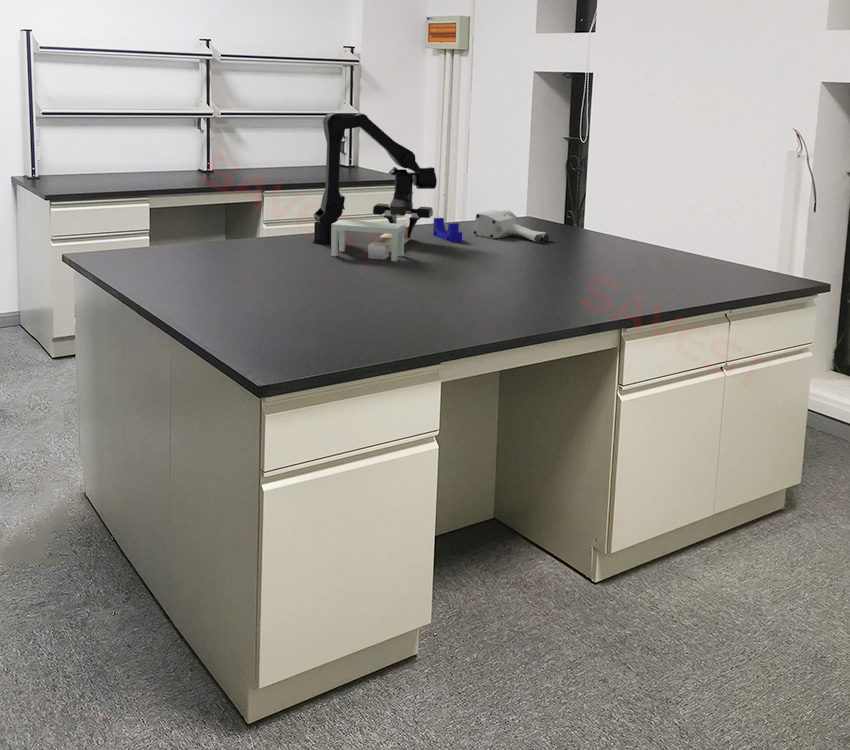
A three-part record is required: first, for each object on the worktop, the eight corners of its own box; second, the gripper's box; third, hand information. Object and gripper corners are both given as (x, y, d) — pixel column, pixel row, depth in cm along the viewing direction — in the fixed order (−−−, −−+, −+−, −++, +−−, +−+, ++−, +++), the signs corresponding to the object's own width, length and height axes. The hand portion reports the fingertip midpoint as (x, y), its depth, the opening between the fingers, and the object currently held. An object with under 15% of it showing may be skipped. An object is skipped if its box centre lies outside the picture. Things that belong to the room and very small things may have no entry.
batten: (379, 253, 303) (379, 236, 301) (398, 239, 326) (398, 224, 324) (391, 254, 302) (392, 237, 300) (410, 239, 325) (410, 224, 324)
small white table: (331, 255, 294) (331, 224, 291) (340, 250, 303) (340, 219, 300) (396, 261, 290) (397, 229, 287) (403, 255, 299) (404, 224, 296)
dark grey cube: (368, 258, 294) (368, 245, 292) (372, 255, 298) (372, 242, 297) (384, 259, 293) (384, 246, 291) (388, 256, 297) (388, 243, 296)
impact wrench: (569, 229, 340) (508, 203, 350) (539, 238, 322) (475, 211, 332) (562, 251, 343) (502, 225, 354) (532, 261, 325) (469, 233, 336)
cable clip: (461, 241, 325) (462, 223, 323) (449, 242, 323) (450, 224, 321) (444, 235, 335) (445, 217, 334) (433, 235, 333) (433, 218, 332)
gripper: (368, 190, 311) (367, 239, 316) (426, 194, 308) (424, 243, 313) (378, 185, 322) (377, 233, 327) (434, 189, 318) (432, 237, 323)
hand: (402, 237), depth 322 cm, fingers open, 4 cm apart
